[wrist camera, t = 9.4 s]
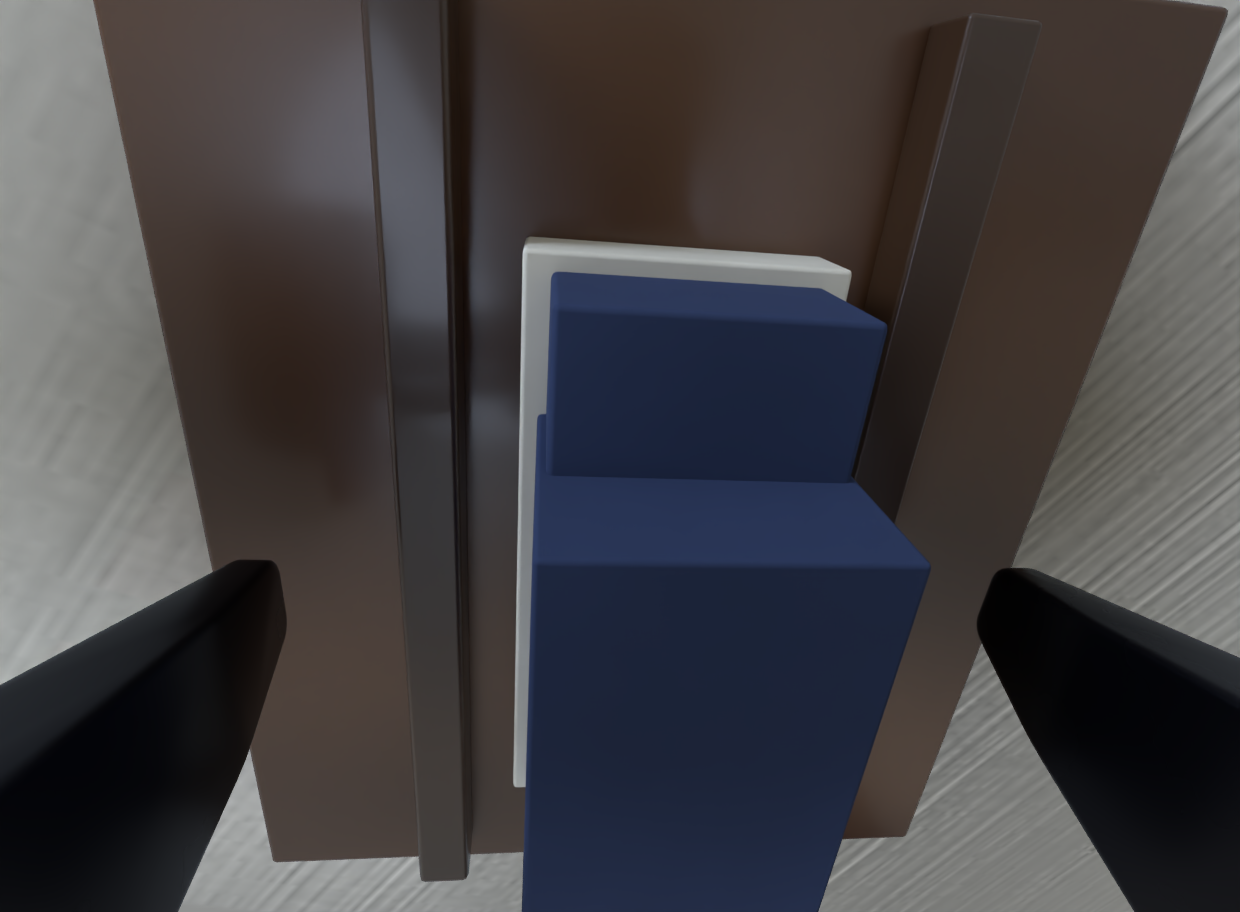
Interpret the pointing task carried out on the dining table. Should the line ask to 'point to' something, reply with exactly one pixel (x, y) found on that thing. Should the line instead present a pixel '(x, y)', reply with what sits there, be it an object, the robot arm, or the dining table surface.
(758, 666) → the stepped navy block
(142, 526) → the dining table surface
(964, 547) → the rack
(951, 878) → the dining table surface
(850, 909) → the dining table surface
